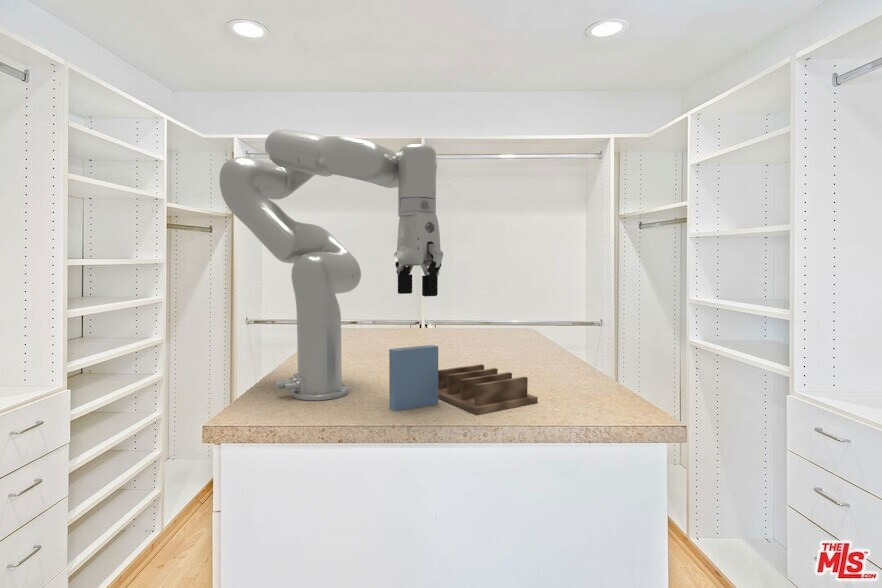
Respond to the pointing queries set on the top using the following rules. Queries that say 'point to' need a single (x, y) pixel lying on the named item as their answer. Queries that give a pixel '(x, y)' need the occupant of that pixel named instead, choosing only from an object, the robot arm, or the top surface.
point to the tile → (413, 377)
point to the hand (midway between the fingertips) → (416, 294)
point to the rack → (482, 389)
